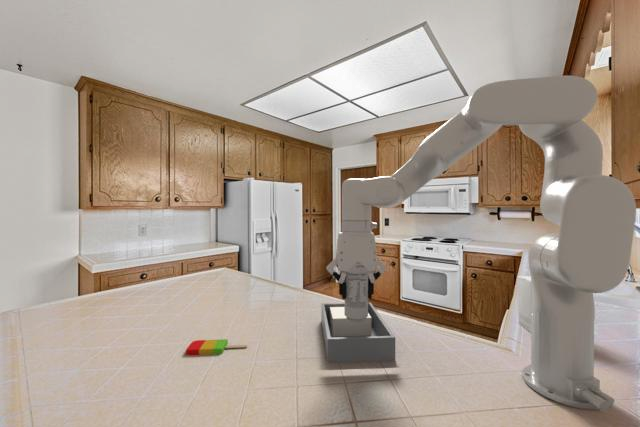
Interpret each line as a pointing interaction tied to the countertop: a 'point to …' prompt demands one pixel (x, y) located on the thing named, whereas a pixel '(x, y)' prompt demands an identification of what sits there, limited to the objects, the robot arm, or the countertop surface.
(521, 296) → the skincare box
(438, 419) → the countertop surface
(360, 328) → the cream white box
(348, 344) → the grocery crate
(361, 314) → the energy drink can
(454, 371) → the countertop surface
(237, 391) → the countertop surface
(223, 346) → the popsicle
